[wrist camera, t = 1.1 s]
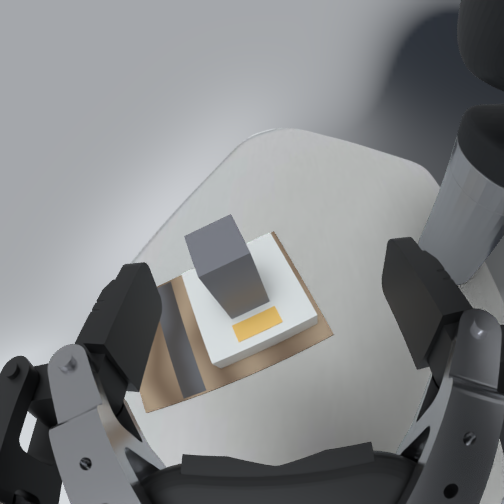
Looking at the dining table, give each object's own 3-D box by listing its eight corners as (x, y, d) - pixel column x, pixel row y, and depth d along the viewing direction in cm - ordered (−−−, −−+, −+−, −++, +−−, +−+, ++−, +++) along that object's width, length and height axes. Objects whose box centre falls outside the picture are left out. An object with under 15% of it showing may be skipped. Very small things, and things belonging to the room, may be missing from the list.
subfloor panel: (274, 233, 40) (273, 231, 40) (333, 335, 31) (333, 334, 31) (122, 305, 39) (120, 304, 38) (148, 413, 30) (145, 412, 30)
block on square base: (273, 245, 38) (253, 172, 28) (317, 323, 32) (316, 269, 21) (190, 284, 38) (141, 226, 27) (220, 368, 31) (168, 338, 20)
